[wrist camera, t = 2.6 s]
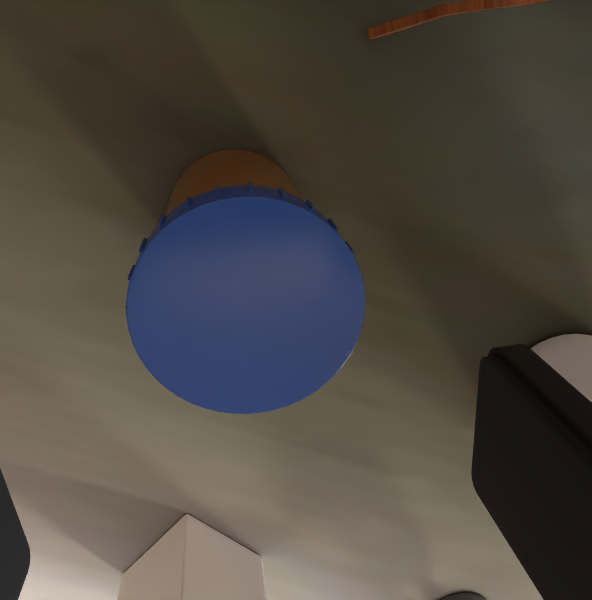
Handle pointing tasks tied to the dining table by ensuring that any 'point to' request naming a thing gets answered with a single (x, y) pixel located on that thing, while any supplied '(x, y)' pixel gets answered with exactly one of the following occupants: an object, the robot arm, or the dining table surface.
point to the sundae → (464, 597)
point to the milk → (194, 567)
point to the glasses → (442, 14)
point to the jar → (229, 175)
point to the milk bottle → (570, 359)
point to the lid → (244, 300)
